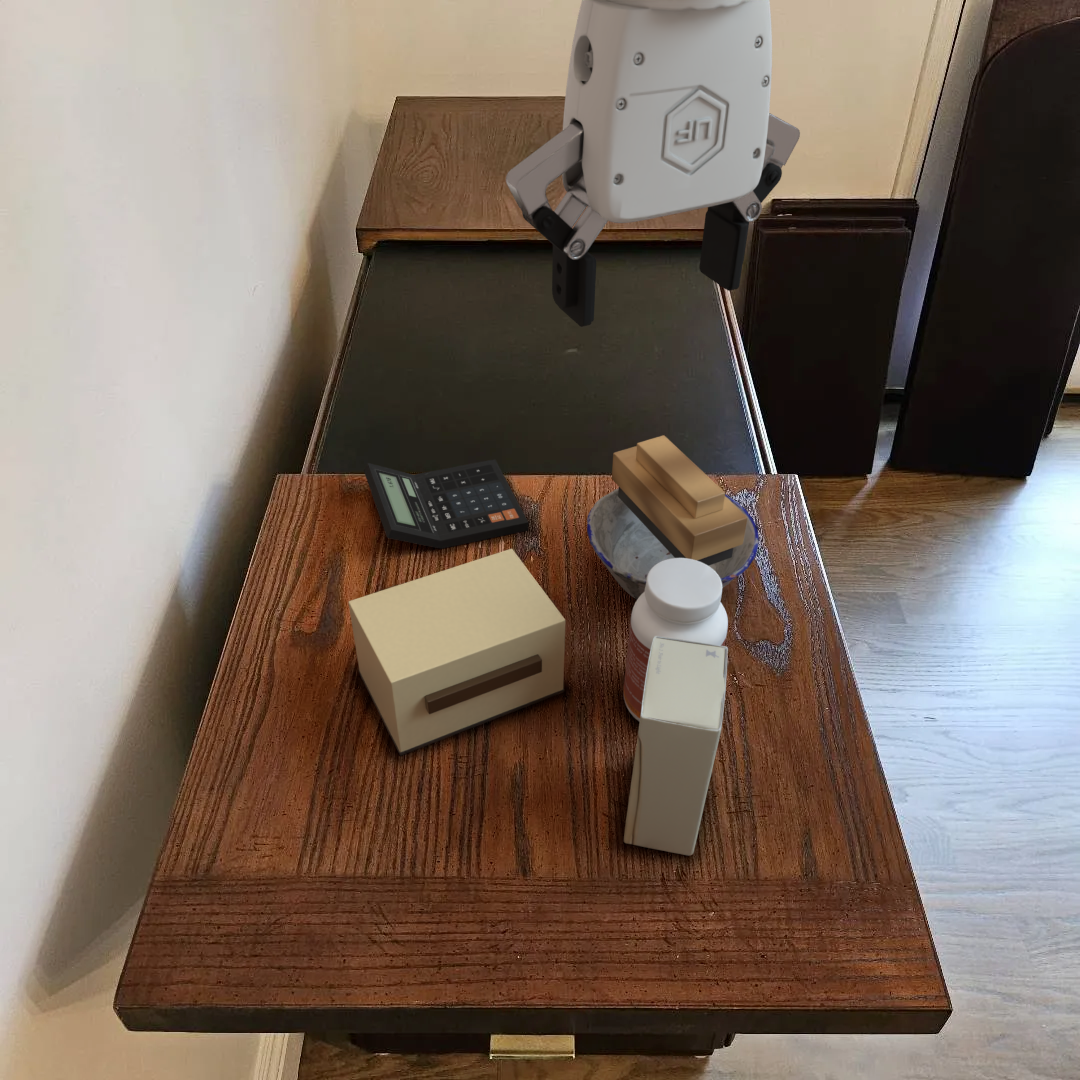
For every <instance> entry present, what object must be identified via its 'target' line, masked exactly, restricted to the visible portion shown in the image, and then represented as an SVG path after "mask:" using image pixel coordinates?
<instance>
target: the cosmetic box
mask: <svg viewBox="0 0 1080 1080" xmlns="http://www.w3.org/2000/svg"><path fill="white" fill-rule="evenodd" d="M728 653H729V647H728V646H726V645H725V646H718V645H713V644H707V643H701V642H694V641H688V640H682V639H674V638H668V637H660V636H655V637H654V638H653V641H652V645H651V650H650V655H649V660H648V666H647V672H646V678H645V685H644V692H643V699H642V707H641V715H640V722H639V724H638V731H637V739H636V745H635V753H634V759H633V760H634V761H633V766H632V767H633V768H632V775H631V783H630V790H629V797H628V803H627V804H628V805H627V810H626V820H625V827H624V836H623V842H624V843H625V844H628V845H634V846H637V847H643V848H648V849H653V850H658V851H664V852H668V853H672V854H673V853H674V854H677V855H683V856H692V855H693V854H694V852H695V848H696V843H697V839H698V836H699V830H700V827H701V826H700V825H701V823H702V822H701V821H702V818H703V817H702V816H703V812H704V808H705V803H706V798H707V794H708V791H709V786H710V781H711V777H712V773H713V768H714V763H715V760H716V755H717V751H718V746H719V742H720V738H721V733H722V728H723V719H724V709H725V701H726V692H727V691H726V690H727V689H726V688H727V676H728V675H727V674H728V656H729V655H728Z"/></svg>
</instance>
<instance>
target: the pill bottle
mask: <svg viewBox="0 0 1080 1080" xmlns="http://www.w3.org/2000/svg"><path fill="white" fill-rule="evenodd" d="M722 594H723V588H722V582H721V579H720V577H719V575H718V574H717V573H716V572H715V571H714V570H713V569H712V568H711V567H709V566H708V565H706V564H704V563H702V562H699V561H697V560H693V559H688V558H672V559H667V560H664V561H661V562H659V563H658V564H656V565H655V566H654V567H653V568H652V569H651V570H650V571H649V573H648V576H647V580H646V586H645V592H644V593H643V594H641V596H640V597H639V598H638V599H637V600H636V601H635V602H634V605H633V607H632V610H631V616H630V622H629V623H630V624H629V633H628V641H627V642H628V643H627V653H626V663H625V673H624V682H623V700H624V703H625V706H626V707H625V708H627V710H628V712H629V713H630V715H631V716H632V717H633V718H634V719H635V720H636V721H637V722H639V723H640V715H641V707H642V699H643V692H644V685H645V678H646V672H647V666H648V660H649V655H650V650H651V645H652V641H653V638H654V637H655V636H660V637H668V638H674V639H682V640H688V641H694V642H701V643H707V644H713V645H718V646H726V641H727V635H728V628H729V618H728V614H727V611H726V609H725V607H724V605H723V603H722V602H721V600H722V596H723V595H722Z"/></svg>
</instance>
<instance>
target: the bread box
mask: <svg viewBox="0 0 1080 1080" xmlns="http://www.w3.org/2000/svg"><path fill="white" fill-rule="evenodd" d="M397 585H398V586H395V585H393V586H394V587H391V586H390V587H391V588H389V587H387V588H388V589H387V588H385V589H382V590H379V591H375V592H373V593H370V594H367V595H364V596H361V597H358V598H354V599H352V600H349V601H348V609H349V615H350V621H351V622H350V623H351V627H352V634H353V640H354V646H355V652H356V658H357V663H358V670H357V671H358V675H359V677H360V678H361V680H362V682H363V685H364V686H365V688H366V690H367V692H368V695H369V696H370V698H371V700H372V702H373V705H374V706H375V708H376V711H377V712H378V714H379V717H380V718H381V720H382V722H383V725H384V727H385V728H386V730H387V732H388V735H389V736H390V739H391V741H392V743H393V745H394V747H395V749H396V751H397V752H398V755H399V756H400V757H401V756H403V755H406V754H409V753H411V752H414V751H417V750H419V749H422V748H424V747H426V746H429V745H432V744H434V743H437V742H440V741H442V740H446V739H447V738H449V737H450V738H451V737H452V736H455V735H458V734H460V733H463V732H465V731H468V730H470V729H473V728H475V727H478V726H481V725H483V724H486V723H488V722H491V721H494V720H497V719H499V718H501V717H504V716H506V715H509V714H511V713H514V712H517V711H520V710H523V709H525V708H528V707H530V706H532V705H535V704H537V703H540V702H542V701H546V700H548V699H550V698H553V697H556V696H558V695H561V694H563V693H565V688H564V678H565V677H564V676H565V674H564V673H565V646H566V644H565V643H566V619H565V618H564V616H563V615H562V613H561V612H560V610H559V609H558V608H557V607H556V605H555V604H554V603H553V601H552V600H551V598H549V596H548V595H547V593H546V592H545V591H544V589H543V588H542V587H541V585H539V583H538V581H537V580H536V579H535V577H534V576H533V575H532V573H531V572H530V571H529V570H528V568H527V567H526V565H525V564H524V562H523V561H522V560H521V558H520V557H519V556H518V555H517V553H516V552H515V550H514V549H513V548H509V549H506V550H501V551H499V552H496V553H493V554H490V555H487V556H483V557H481V558H478V559H475V560H471V561H469V562H466V563H462V564H460V565H456V566H452V567H450V568H447V569H443V570H441V571H437V572H435V573H431V574H429V575H426V576H422V577H419V578H415V579H413V580H410V581H407V582H404V583H401V584H397Z"/></svg>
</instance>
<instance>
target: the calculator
mask: <svg viewBox="0 0 1080 1080" xmlns="http://www.w3.org/2000/svg"><path fill="white" fill-rule="evenodd" d="M363 472H364V476H365V478H366V481H367V484H368V487H369V490H370V492H371V496H372V498H373V502H374V505H375V508H376V511H377V513H378V516H379V519H380V522H381V524H382V527H383V530H384V533H385V536H386V538H387V539H390V540H395V541H401V542H405V543H411V544H416V545H420V546H426V547H430V548H435V549H441V550H442V549H443V550H444V549H447V548H451V547H452V548H453V547H457V546H460V545H461V546H462V545H467V544H470V543H475V542H479V541H484V540H485V541H486V540H489V539H494V538H499V537H504V536H508V535H513V534H517V533H522V532H527V531H529V521H528V519H527V517H526V515H525V513H524V511H523V509H522V507H521V506H520V505H521V504H520V503H519V502H518V500H517V498H516V496H515V494H514V492H513V490H512V488H511V486H510V484H509V482H508V481H507V479H506V477H505V475H504V473H503V471H502V469H501V467H500V466H499V463H498V461H497V460H496V458H494V459H489V460H484V461H478V462H472V463H467V464H463V465H457V466H452V467H447V468H441V469H436V470H431V471H426V472H420V473H416V474H415V473H414V474H412V473H408V472H404V471H401V470H397V469H393V468H390V467H386V466H382V465H378V464H375V463H371V462H367V463H366V465H365V467H364V469H363Z"/></svg>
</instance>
